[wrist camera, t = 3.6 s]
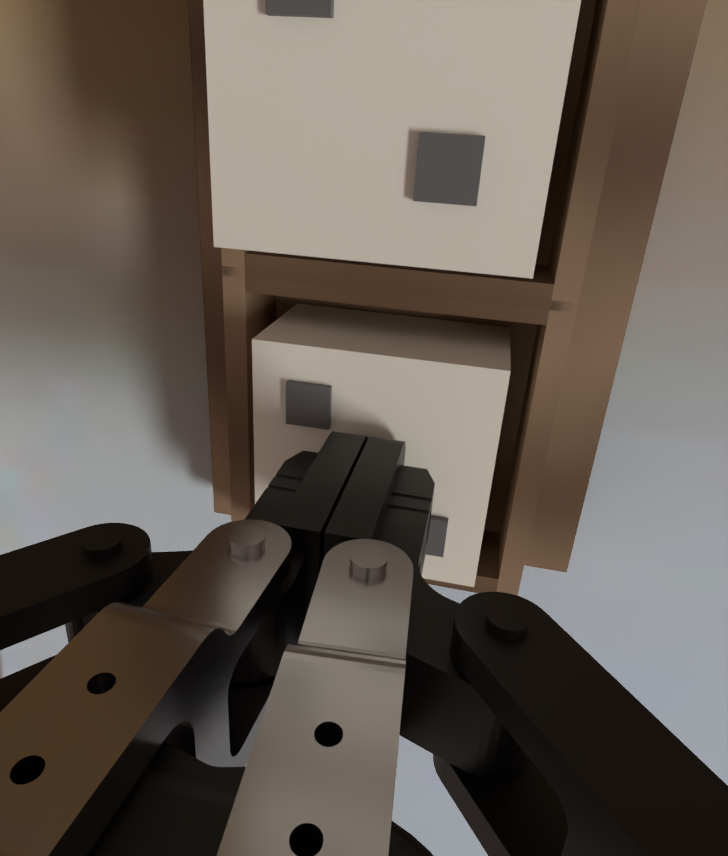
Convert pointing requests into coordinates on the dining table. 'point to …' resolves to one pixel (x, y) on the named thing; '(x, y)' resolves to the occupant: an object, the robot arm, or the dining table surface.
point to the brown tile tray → (492, 286)
